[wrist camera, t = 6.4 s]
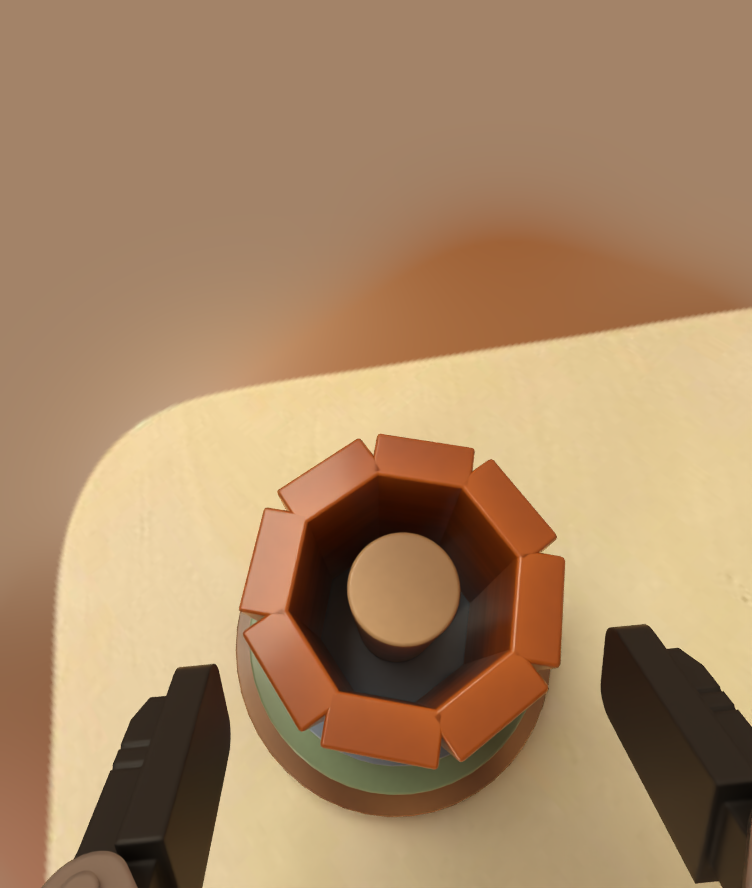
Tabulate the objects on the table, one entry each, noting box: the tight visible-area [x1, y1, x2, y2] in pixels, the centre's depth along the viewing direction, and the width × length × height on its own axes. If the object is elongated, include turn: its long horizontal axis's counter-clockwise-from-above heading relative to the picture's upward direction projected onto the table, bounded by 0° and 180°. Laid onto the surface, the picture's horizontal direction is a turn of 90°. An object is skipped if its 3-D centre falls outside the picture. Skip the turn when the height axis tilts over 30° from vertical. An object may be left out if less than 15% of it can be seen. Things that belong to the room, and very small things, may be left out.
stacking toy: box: [236, 532, 550, 817], centre depth 18 cm, size 12×12×12 cm
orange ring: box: [239, 434, 565, 770], centre depth 15 cm, size 6×6×7 cm
